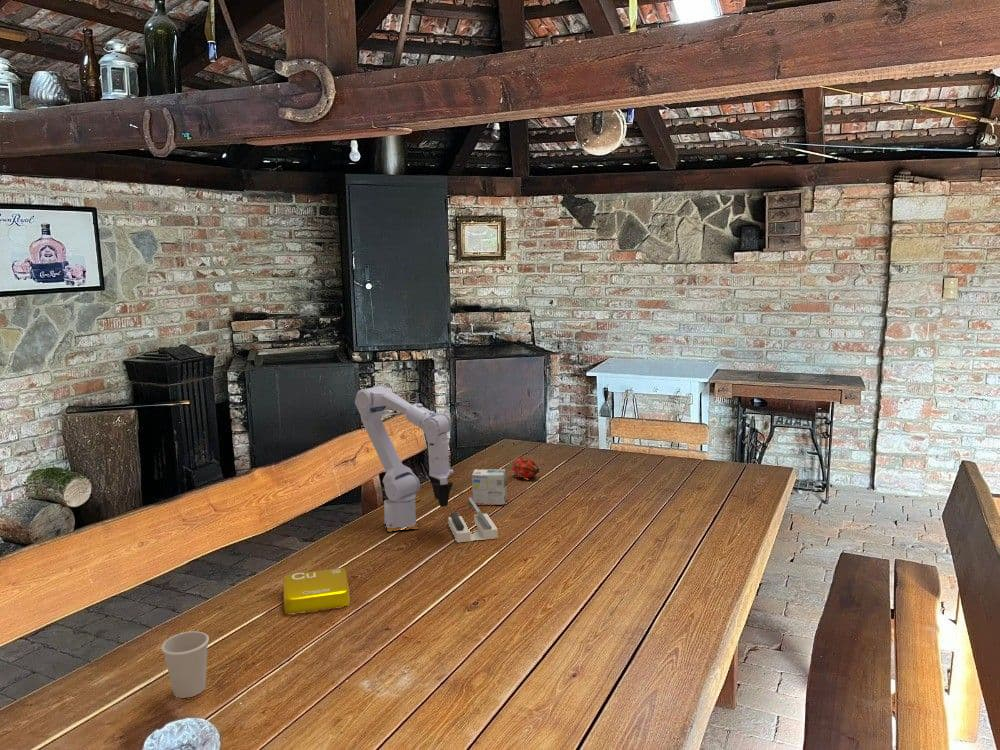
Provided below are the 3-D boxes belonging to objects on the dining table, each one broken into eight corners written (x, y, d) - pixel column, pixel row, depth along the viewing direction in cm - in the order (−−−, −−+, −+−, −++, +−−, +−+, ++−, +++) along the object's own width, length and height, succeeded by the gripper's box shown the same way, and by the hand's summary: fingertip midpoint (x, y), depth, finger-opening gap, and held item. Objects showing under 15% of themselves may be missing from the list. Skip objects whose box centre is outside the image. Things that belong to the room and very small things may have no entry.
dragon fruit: (515, 477, 281) (536, 489, 273) (502, 469, 276) (523, 480, 267) (526, 458, 283) (548, 469, 274) (513, 449, 277) (535, 460, 268)
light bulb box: (506, 499, 252) (506, 468, 250) (504, 506, 245) (504, 474, 244) (475, 499, 253) (474, 468, 251) (472, 506, 246) (471, 474, 245)
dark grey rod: (457, 531, 216) (457, 524, 216) (451, 519, 226) (450, 513, 225) (464, 530, 216) (463, 523, 216) (457, 518, 226) (457, 512, 226)
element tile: (284, 618, 173) (283, 598, 172) (285, 590, 187) (283, 572, 187) (350, 608, 177) (349, 589, 176) (346, 582, 191) (345, 564, 191)
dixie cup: (219, 677, 148) (215, 630, 147) (204, 702, 140) (199, 652, 138) (176, 678, 148) (171, 631, 146) (158, 703, 140) (153, 654, 138)
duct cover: (477, 512, 215) (480, 510, 215) (468, 498, 227) (470, 496, 228) (489, 529, 217) (492, 527, 217) (480, 514, 229) (482, 513, 229)
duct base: (457, 543, 214) (456, 533, 214) (448, 526, 228) (448, 517, 227) (497, 539, 217) (497, 529, 217) (487, 522, 231) (486, 513, 230)
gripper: (456, 461, 211) (459, 507, 212) (447, 449, 224) (450, 493, 226) (431, 463, 209) (434, 510, 211) (424, 452, 223) (427, 496, 225)
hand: (441, 502), depth 218 cm, fingers open, 7 cm apart
